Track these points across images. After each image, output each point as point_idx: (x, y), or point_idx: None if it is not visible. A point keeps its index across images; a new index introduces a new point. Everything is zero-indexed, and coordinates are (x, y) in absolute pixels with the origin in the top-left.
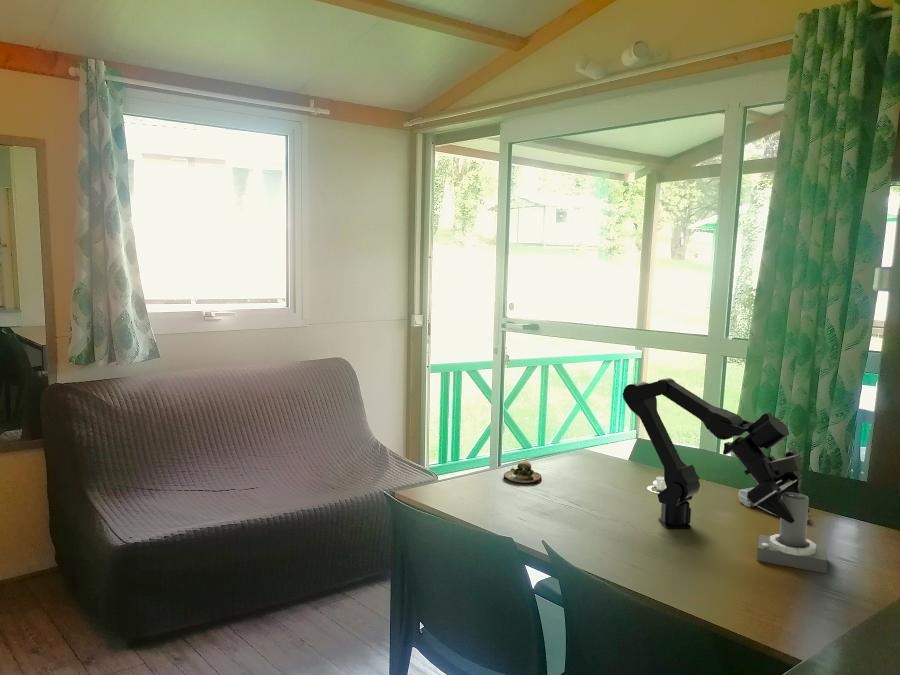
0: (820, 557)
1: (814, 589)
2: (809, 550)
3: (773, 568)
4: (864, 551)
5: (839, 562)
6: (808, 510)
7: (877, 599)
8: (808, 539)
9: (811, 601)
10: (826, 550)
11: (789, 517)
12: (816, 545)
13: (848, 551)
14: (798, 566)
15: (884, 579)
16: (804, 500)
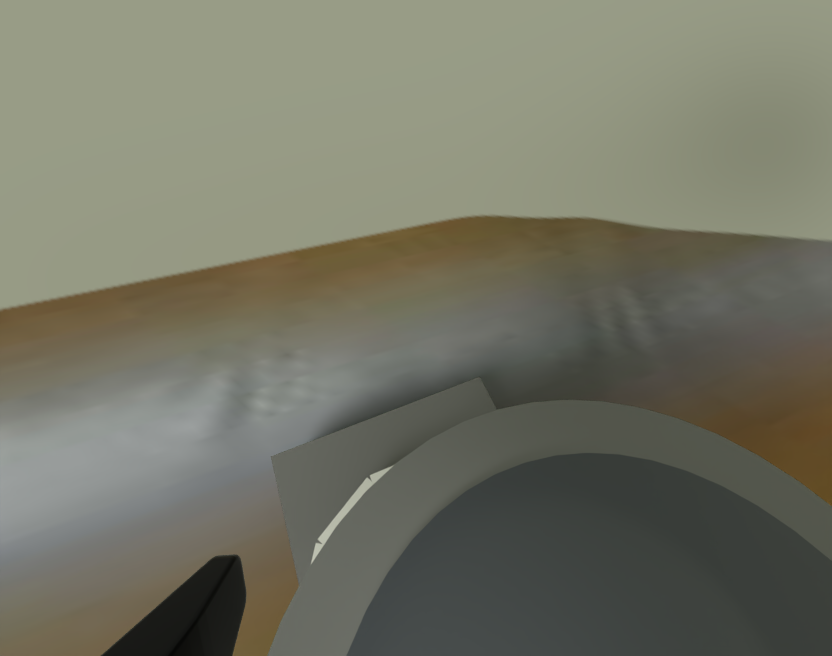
0: (472, 412)
1: (657, 376)
2: None
3: None
4: (61, 382)
5: (291, 410)
6: (233, 563)
7: (526, 233)
8: (317, 545)
9: (755, 347)
10: (344, 429)
11: None
12: (303, 500)
13: (104, 431)
14: None
15: (344, 258)
16: (692, 427)
